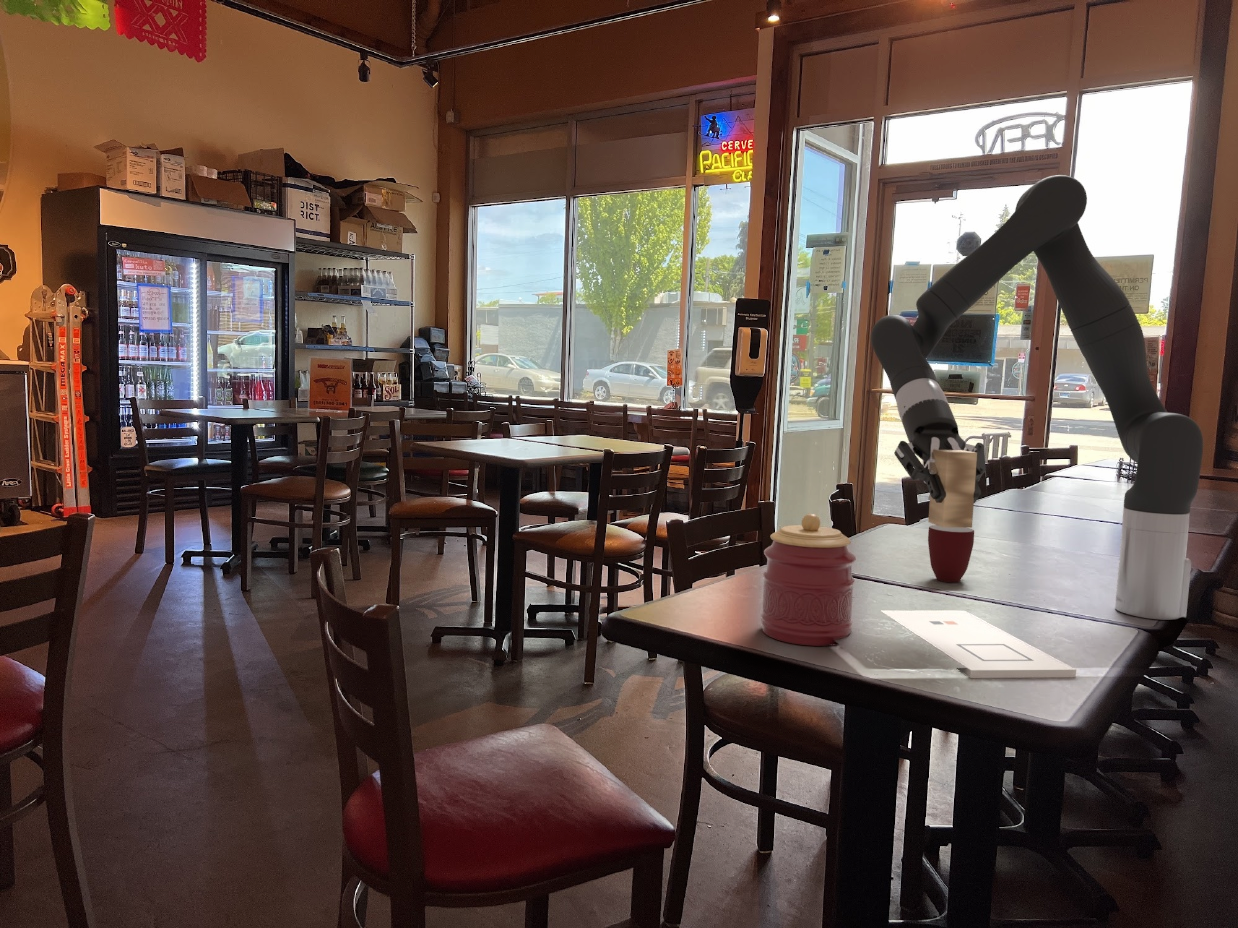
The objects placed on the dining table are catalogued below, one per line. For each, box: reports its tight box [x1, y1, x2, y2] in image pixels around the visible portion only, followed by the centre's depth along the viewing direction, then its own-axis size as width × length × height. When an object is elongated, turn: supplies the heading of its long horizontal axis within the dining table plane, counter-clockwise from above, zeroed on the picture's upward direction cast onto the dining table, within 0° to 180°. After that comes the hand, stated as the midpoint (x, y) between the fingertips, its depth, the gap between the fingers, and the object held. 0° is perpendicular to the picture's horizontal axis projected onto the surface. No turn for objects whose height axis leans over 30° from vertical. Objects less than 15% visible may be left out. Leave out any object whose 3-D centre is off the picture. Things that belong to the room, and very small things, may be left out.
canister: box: [760, 513, 857, 647], centre depth 122 cm, size 13×13×18 cm
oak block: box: [927, 450, 977, 529], centre depth 125 cm, size 4×4×11 cm
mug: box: [927, 524, 975, 584], centre depth 161 cm, size 10×8×10 cm
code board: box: [879, 609, 1077, 679], centre depth 120 cm, size 14×28×1 cm, turn 6°
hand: (958, 499), depth 123 cm, fingers closed on oak block, 4 cm apart
